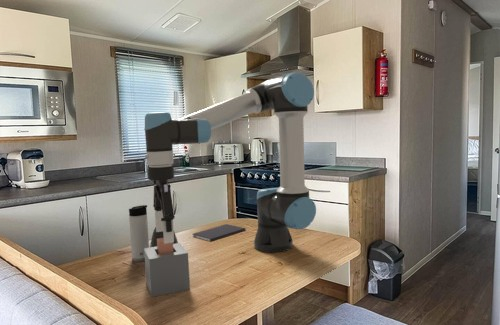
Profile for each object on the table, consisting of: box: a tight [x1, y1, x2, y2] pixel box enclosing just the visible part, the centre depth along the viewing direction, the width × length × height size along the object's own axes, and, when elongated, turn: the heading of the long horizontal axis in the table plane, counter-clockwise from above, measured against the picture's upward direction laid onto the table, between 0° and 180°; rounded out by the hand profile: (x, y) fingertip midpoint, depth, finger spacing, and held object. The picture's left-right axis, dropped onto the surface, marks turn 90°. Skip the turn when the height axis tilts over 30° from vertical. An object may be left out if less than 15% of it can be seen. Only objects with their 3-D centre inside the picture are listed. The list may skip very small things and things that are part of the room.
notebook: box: [192, 223, 246, 242], centre depth 169 cm, size 13×2×21 cm
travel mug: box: [128, 204, 150, 263], centre depth 138 cm, size 6×7×20 cm
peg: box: [157, 238, 173, 255], centre depth 112 cm, size 4×4×10 cm
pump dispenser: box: [149, 226, 179, 248], centre depth 132 cm, size 10×10×15 cm
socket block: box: [144, 242, 191, 298], centre depth 113 cm, size 11×11×11 cm
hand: (164, 236), depth 112 cm, fingers open, 13 cm apart
